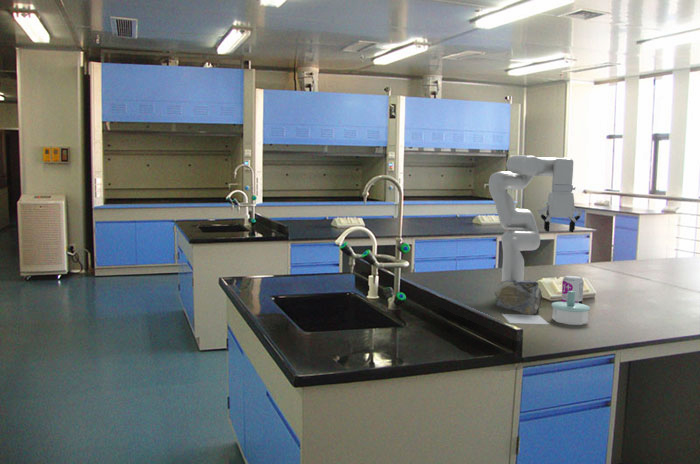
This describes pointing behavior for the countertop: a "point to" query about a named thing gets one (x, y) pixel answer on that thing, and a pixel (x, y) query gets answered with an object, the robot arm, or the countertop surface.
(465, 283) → the countertop surface
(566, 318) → the bowl
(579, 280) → the supplement can
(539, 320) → the mat
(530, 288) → the fossil rock
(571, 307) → the lid
